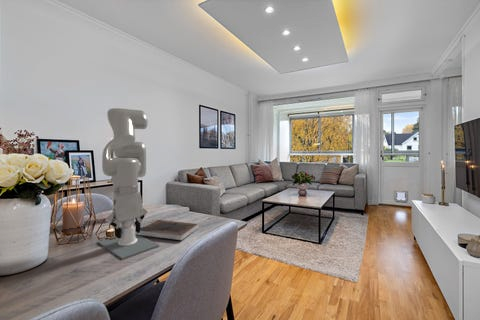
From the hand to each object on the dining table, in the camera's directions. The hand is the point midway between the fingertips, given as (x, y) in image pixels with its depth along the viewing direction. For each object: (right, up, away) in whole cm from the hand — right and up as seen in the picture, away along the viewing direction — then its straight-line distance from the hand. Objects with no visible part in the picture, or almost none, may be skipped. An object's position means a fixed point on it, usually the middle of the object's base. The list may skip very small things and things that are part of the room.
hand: (128, 234), depth 88 cm
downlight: (-1, -4, +1) cm, 4 cm away
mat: (0, -4, 0) cm, 4 cm away
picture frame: (+12, -4, +14) cm, 18 cm away
